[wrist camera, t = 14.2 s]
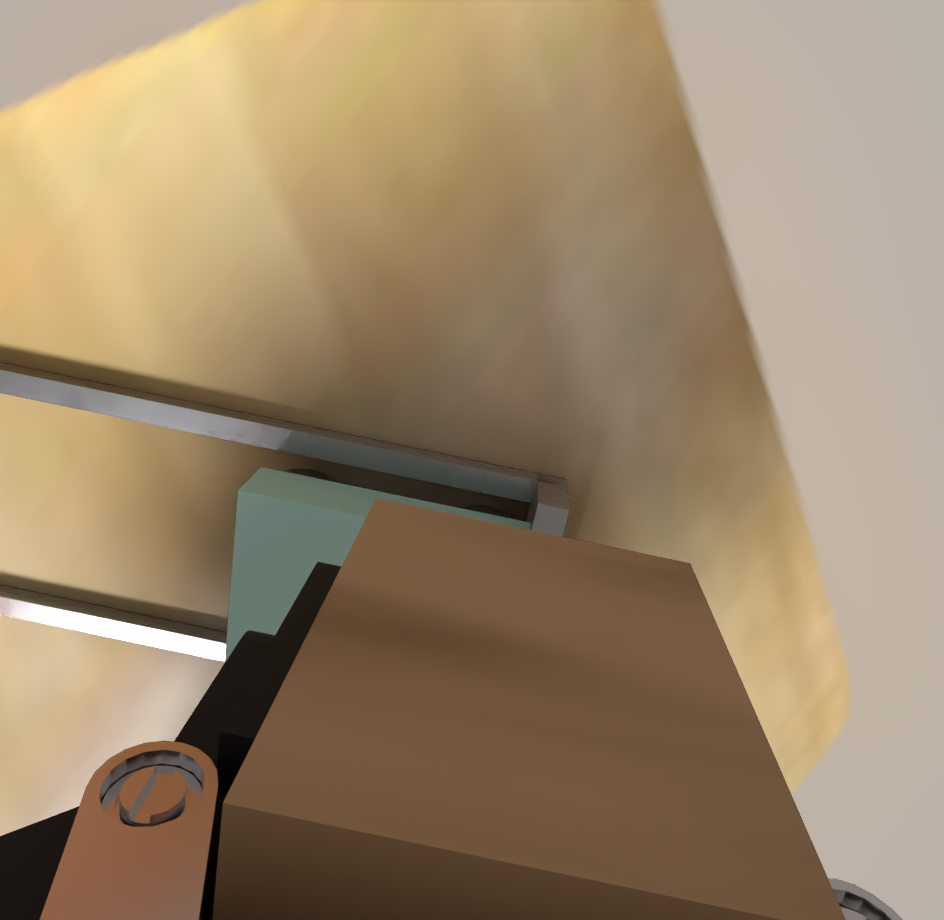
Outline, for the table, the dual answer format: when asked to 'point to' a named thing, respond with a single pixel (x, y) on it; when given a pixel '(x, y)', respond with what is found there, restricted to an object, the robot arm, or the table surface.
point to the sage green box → (300, 539)
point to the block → (512, 746)
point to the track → (264, 432)
